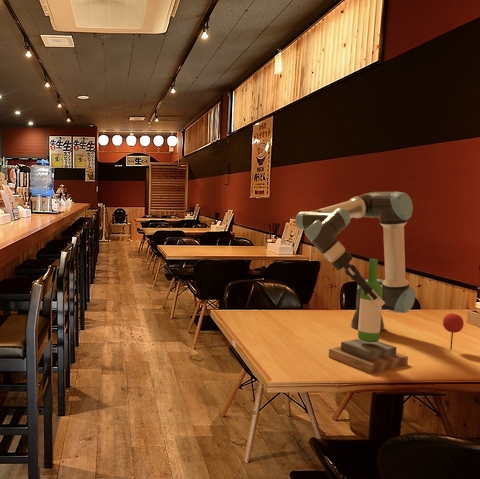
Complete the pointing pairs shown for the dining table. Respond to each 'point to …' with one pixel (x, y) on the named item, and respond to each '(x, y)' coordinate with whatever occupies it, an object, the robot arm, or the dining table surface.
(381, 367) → the plinth
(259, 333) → the dining table surface
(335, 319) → the dining table surface
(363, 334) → the wine bottle
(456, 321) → the lollipop
